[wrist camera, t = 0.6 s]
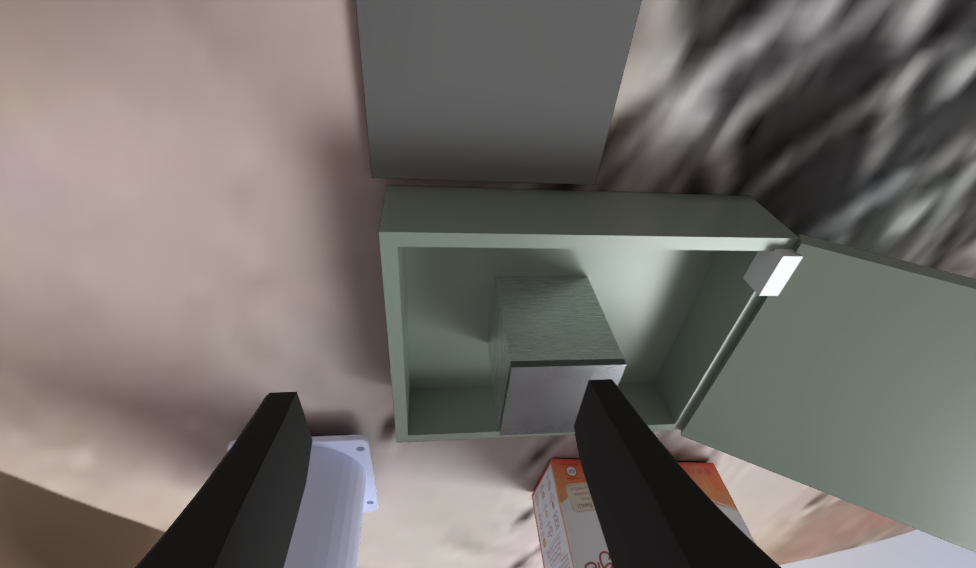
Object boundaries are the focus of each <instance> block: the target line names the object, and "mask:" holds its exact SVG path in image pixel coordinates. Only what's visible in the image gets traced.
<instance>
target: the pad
mask: <svg viewBox="0 0 976 568" xmlns="http://www.w3.org/2000/svg"><path fill="white" fill-rule="evenodd" d="M641 1H642V0H356V6H357V17H358V28H359V39H360V51H361V62H362V73H363V84H364V96H365V107H366V118H367V129H368V140H369V152H370V163H371V174H372V178H398V179H430V180H462V181H494V182H526V183H558V184H590V185H595V182H596V179H597V175H598V171H599V167H600V163H601V159H602V155H603V151H604V147H605V143H606V139H607V135H608V131H609V127H610V123H611V119H612V116H613V112H614V108H615V104H616V100H617V96H618V92H619V88H620V84H621V80H622V76H623V72H624V68H625V64H626V60H627V56H628V53H629V49H630V45H631V41H632V37H633V33H634V29H635V25H636V21H637V17H638V13H639V9H640V5H641Z"/></svg>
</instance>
